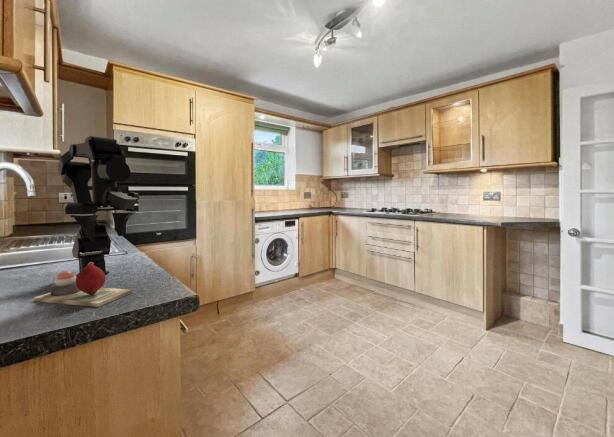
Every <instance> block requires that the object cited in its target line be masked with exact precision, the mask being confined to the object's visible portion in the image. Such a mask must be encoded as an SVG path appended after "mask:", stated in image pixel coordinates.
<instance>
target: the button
mask: <svg viewBox="0 0 614 437" xmlns="http://www.w3.org/2000/svg"><path fill="white" fill-rule="evenodd" d="M54 284H55V286H58V287H60V286H69V285H73V284H76V276H75V273H74V272H72V271H70V270H62V271H61V272H59V273H58V274H57V276H56V277H55V278H54Z"/></svg>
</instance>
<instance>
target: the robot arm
mask: <svg viewBox="0 0 614 437" xmlns="http://www.w3.org/2000/svg"><path fill="white" fill-rule="evenodd" d="M74 158H84V159H88V162H85V161H73V160H74ZM131 172H132V171H131V168H130V166H129V165H128V164H127V163H126V156H125V153H124V151H123V150H122V148H121V144H120V143H118V141H117V139H115V138H109V137H104V136H103V137H101V136H95V135H89V136H88V137H86V138H85V140H84V142H81V143H73V144H71V143H70V145H69V149H68V151H65V153H63V154H61V155H60V157H59V162H58V165H57V173H58V174H59V175H60V177H61V179H62V182H63V183H64V184H65V185H66V186H67V187H69V188H70V190H71V195H72V199H73V203H70V202H68V203H67V204H66V206H65V208H64V211H65V212H64V213H65V215H70V218H74V220H75V221H76V223H78V225H79V230H78V231H77V233H76V235H75V240H74V242H73V246H72V249H71V254H72V258H75V259H76V260H77V259H78V269H79V270H78V271H79V272H80V271H81V270H82V269H83V268H85V267H86V266H87V265H88V263H90V262H93V263H94V266H96V267H98V268H100V269H101V270H102V271H103V272H104V274H105V275H107V274H109V273H110V271H109V270H107V269H106V260H105V256H106V255H107V256H108V255H110V253H111V244H112V240H111V237H110V236H109V234H108V231H107V227H106V225H104V224H100V223H99V222H98V217H99V214H96V213H97V212H110V211H112V212H111V214H112V219H113V222H114V223H113V224H114V227H115V231H116V234H117V236H118V237H123V235H124V231H125V228H126V226H127V223H128V221H129V219H130V218H131V216H134V215H135V214H136V212H139V203H140V196H139V193H138V192H135V191H130V192H129V193H123V191H122V189H121V186H117V183H121V182H126V181H127V180H128V179H129V178H130V176H131ZM90 181H91V186H89V182H90ZM91 193H92V195H91ZM113 211H114V212H113ZM79 272H78V273H79ZM78 273H77V274H74V276H76V277H77V275H78Z"/></svg>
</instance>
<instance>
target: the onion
mask: <svg viewBox="0 0 614 437" xmlns="http://www.w3.org/2000/svg"><path fill="white" fill-rule="evenodd" d="M77 274H78V275H77ZM77 274H76V275H77V277H76V286H77V288H78V289H79V290H81V291H82V292H84V293H87V294H89V295H93V294H95V293H96V292H97V291H98V290H99V289H100V288H101V287H102V288H103V286H105V283H106V279H107V278H106V274H104V272H103V271H102V270H101V269H100V268H98V267H96V266H94V263H93V262H90V263H88V265H87V266H86V267H85V268H83V269H82V270H81V271H80V272H78V273H77Z"/></svg>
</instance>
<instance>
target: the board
mask: <svg viewBox="0 0 614 437" xmlns="http://www.w3.org/2000/svg"><path fill="white" fill-rule="evenodd" d="M49 288H50V289H49V292H47V293H45V294H41V295H37V296H34V297H33V298H32V299H33V300H32V301H33V302H38V303H41V302H42V303H51V304H60V305H71V306H72V305H74V306H82V307H83V306H84V307H92V308H93V307H95V308H99V307H101V306H103V305H106V304H109V303H110V302H113V301H115V300H119V299H120V298H123V297H125V296H128V295H130V294H132V293H133V289H126V288H116V287H115V288H113V287H103V286H102V287H101V288H100V289H99V290H98V291H97V292H96V293H95V294H93V295H89V294H87V293H84V292H82V291H81V290H79V289H78V288H77V286H76V284H73V285H69V286H60V287H58V286H55V283H54V284H51V285H50V286H49Z"/></svg>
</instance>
